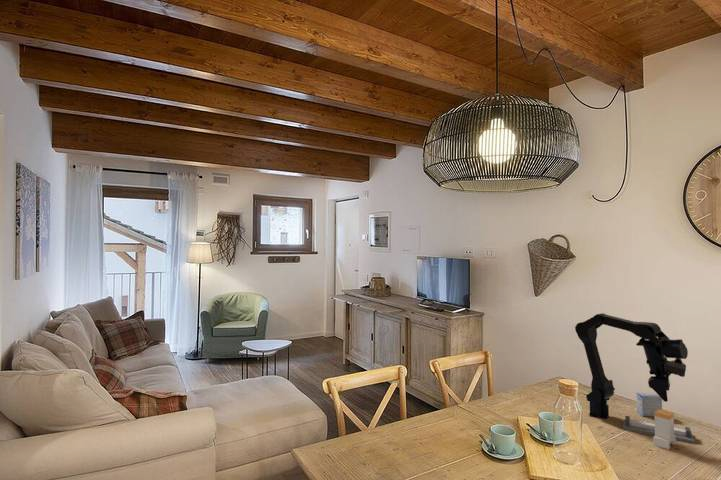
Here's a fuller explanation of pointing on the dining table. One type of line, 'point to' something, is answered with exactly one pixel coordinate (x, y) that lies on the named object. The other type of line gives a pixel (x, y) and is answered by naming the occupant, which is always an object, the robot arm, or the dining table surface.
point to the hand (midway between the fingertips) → (666, 395)
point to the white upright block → (664, 429)
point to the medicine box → (648, 403)
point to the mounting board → (646, 431)
